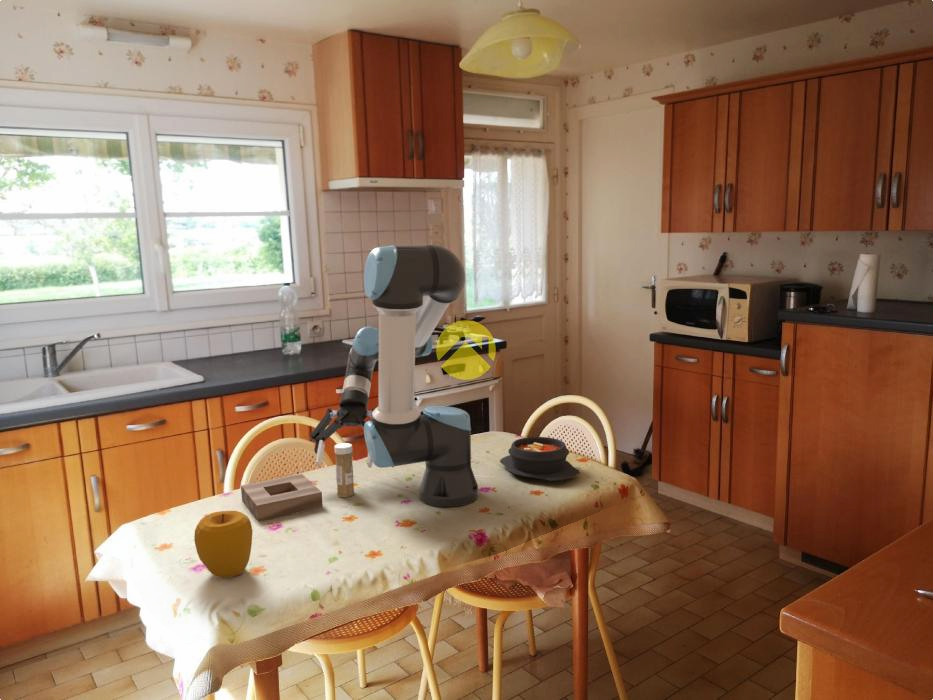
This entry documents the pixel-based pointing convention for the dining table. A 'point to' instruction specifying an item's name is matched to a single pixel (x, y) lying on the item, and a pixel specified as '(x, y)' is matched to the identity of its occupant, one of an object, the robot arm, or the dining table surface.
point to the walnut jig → (281, 497)
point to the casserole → (539, 459)
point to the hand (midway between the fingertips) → (343, 465)
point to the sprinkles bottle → (344, 469)
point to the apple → (224, 542)
